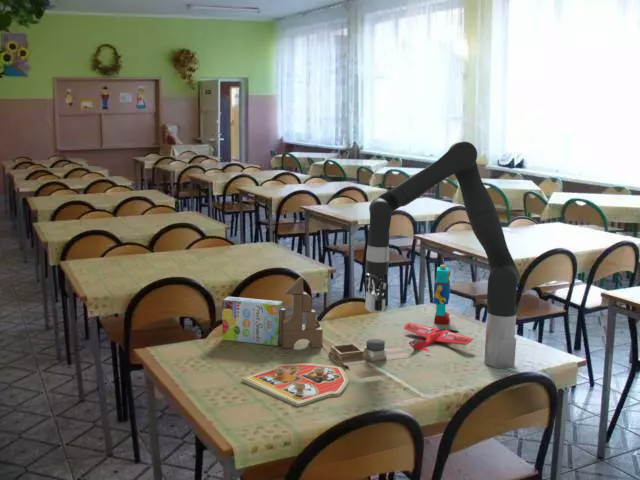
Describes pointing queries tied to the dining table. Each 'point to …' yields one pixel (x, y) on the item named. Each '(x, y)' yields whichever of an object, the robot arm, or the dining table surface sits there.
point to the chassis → (364, 354)
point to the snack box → (251, 320)
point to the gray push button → (375, 344)
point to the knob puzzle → (300, 382)
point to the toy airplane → (434, 336)
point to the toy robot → (441, 294)
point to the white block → (372, 302)
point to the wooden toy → (299, 319)
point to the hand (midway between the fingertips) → (374, 307)
